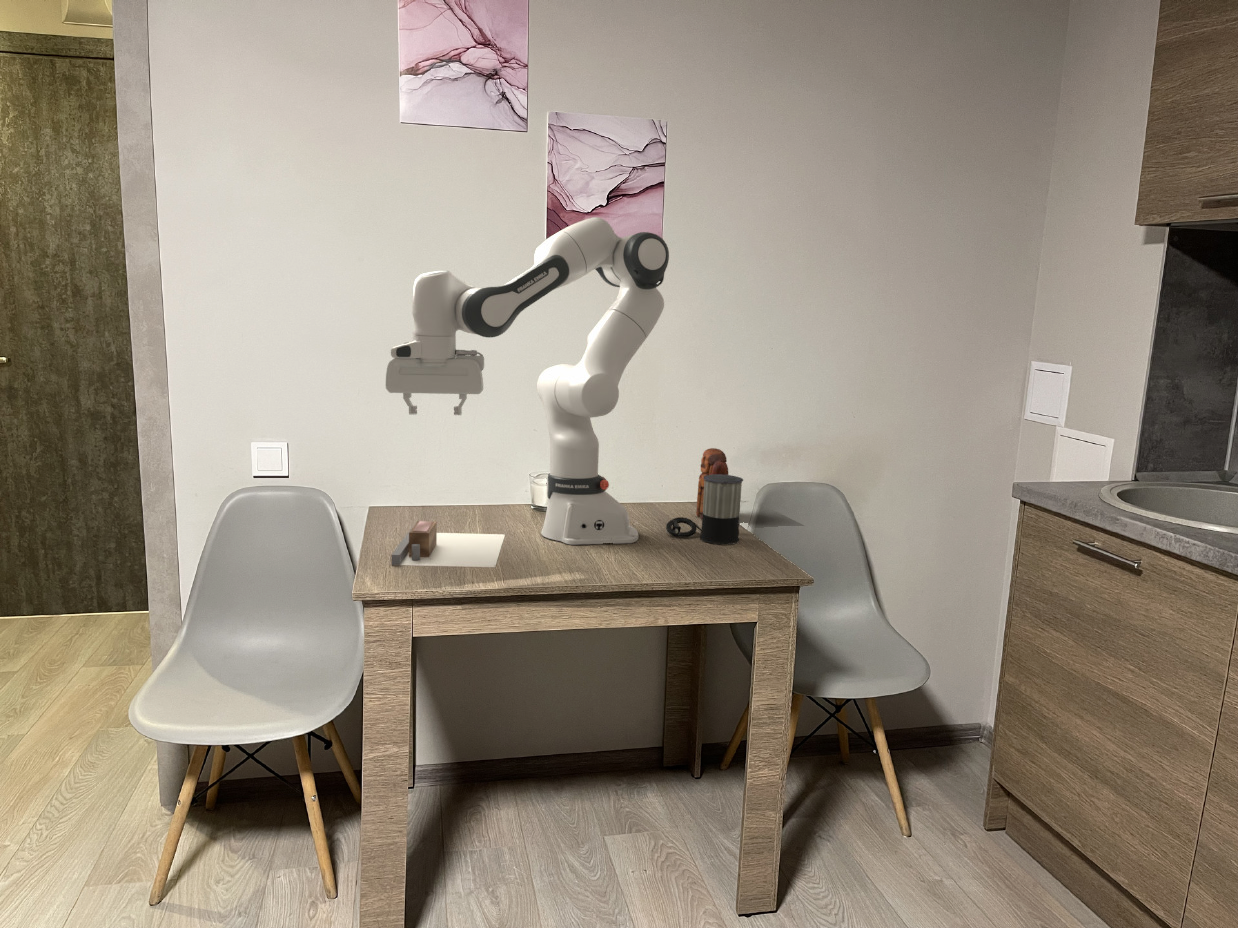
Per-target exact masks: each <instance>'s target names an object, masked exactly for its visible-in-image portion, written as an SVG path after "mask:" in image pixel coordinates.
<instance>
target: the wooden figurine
mask: <svg viewBox="0 0 1238 928" xmlns="http://www.w3.org/2000/svg"><path fill="white" fill-rule="evenodd" d="M700 462H701V464H700V472H701V473H700V475H699V476H698V477H699V478H698V481H697V482H698V483H697V495H696V496H697V497H696V509H695V510H696V513H695V514H696V517H697V516H699V517H698V518H700V520H702V518H703V499H704V481H705V480H704V478H703V477H704V476H706V475H713V474H714V475H716V474H721V475H729V466H728V463H727V456H726V454H725V452H724V451H723V450H721V449H720V448H716V447H711V448H707V449H705V450H704V451H703V453H702V457H701V460H700Z"/></svg>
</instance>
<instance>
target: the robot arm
mask: <svg viewBox="0 0 1238 928" xmlns="http://www.w3.org/2000/svg"><path fill="white" fill-rule="evenodd" d="M533 257H534V258H533V263H534V264H533V265H532V266H531V267H530V268H528V269H527V270H526V271H524V272H523V273H521V274H519V275H518V276H516V277H514V278H513V279H511V280H510V281H508V282H506V283H505V284H502V285H499V286H487V287H480V288H479V287H476V286H474V285H471V284H469V283H467V282H465V281H463V280H461V279H460V278H458V277H457V276H455V275H454V274H453V273H452V272H451V271H450V270H437V271H436V270H435V271H430V272H429V271H428V272H425V273H424V272H423V273H421V274H419V275H418V276H417V277H416V278H415V280H414V283H413V289H412V300H411V301H412V305H411V306H412V311H411V312H412V313H411V314H412V316H413V320H414V321H413V323H414V326H413V330H412V331H413V332H412V341H410V342H409V341H407V342H404V343H403V344H400V345H396V346H393V347H392V348H391V349H390V356H391V358H392V359H391V360H389V361H388V364H387V367H386V374H385V389H386V390H387V392H388V393H390V394H402V398H403V400H404V402H405V403H406V406H407V407H408V415H411V416H412V415H413V416H416V415H417V414H418V410H417V409H418V405H414V404H413V402H412V401H411V398H412V394H430V395H432V394H434V395H435V394H438V395H440V394H441V395H444V394H445V395H458V400H460V402H459V404H458V406H457V405H455V406H453V416H462V413H463V410H462V409H463V406H464V404H465V402H466V400H467V397H468V396H467V395H479V394H481V393H482V392H483V390H484V378H483V372H482V371H483V370H484V368H485V357H484V354H482V353H481V352H479V351H478V350H476V349H471V350H465V349H457V344H456V343H457V342H456V341H457V337H456V336H457V335H456V332H457V331H462V332H464V333H468V334H472V335H478V336H480V337H483V338H490V339H491V338H496V337H499V336H501V335H503V334H505V333H506V331H507V330H509V329H510V327H511V326H512V325H513V323H514V322H515V320H516V319H517V317H518V316H519V315H520V313H522V312H523V311H525V309H527V308H528V307H530V306H532V304H534V303H536V302H537V301H539V300H540V299H542V298H543V297H545V296H546V295H548V294H549V293H551V292H552V291H554V290H556V289H559V288H561V287H565V286H567V285H569V284H571V283H573V282H576V281H577V280H579V279H581V278H583V277H584V276H586V275H588V274H589V273H590V272H593V271H594V270H595V272H598V275H599V276H600V278H601V279H602V280H603V281H604V282H605V283H606V284H608V285H610V286H612V287H615V288H619V290H618V294H617V297H616V298H615V300H614V302H613V303H611V305H610V307H609V308H608V309H607V310H606V312H605V313H604V314H603V315H602V316H601V318H600V319H599V320H598V322H597V323H596V324H595V326H594V327H593V328H592V329H591V331H590V332H589V333H588V335H587V337H586V338H587V339H586V341H587V345H586V348H585V352H584V353H583V355H582V358H581V359H580V360H579V362H578V363H577V364H567V363H560V364H556V365H552V366H550V367H547V368H546V369H544V370H543V371H542V372H541V373H540V374H539V377H538V378H537V383H536V391H537V395H538V396H539V399H540V400H541V402H542V405H543V409H544V412H545V419H546V423H547V427H548V433H549V445H550V447H549V473H548V475H547V479H546V480H547V481H546V495H547V507H546V511H545V517H544V518H545V519H544V522H543V525H542V529H541V532H540V534H541V535H542V537H545V538H546V539H549V540H553V541H554V540H555V541H557V542H562V543H564V544H567V545H604V544H603V543H613V544H633V543H635V542H638V540H639V539H640V538H639V537H640V536H639V531H638V529H637V528H635V527H633V526H631V525H630V517H629V514H628V511H627V509H626V507H625V506H624V505H623V504H621V503H620V502H619V501H618V500H617V499H615V498H614V497H613V496H612V495H611V494H609V493H608V492H607V490H608V488H609V486H610V483H609V481H608V480H607V478H606V477H604V476H603V475H600V474H599V452H600V451H599V450H600V441H599V439H598V437H597V435H596V433H595V431H594V428H593V425H592V420H591V418H599V417H604V416H606V415H609V413H611V412H613V410H614V409H615V407H616V405H617V403H618V400H619V397H620V396H619V395H620V392H619V391H620V390H619V384H620V382H621V378H622V376H623V374H624V371H625V369H626V367H627V366H628V364H629V362H630V361H631V360H632V359H633V357H634V356H635V354H636V353H637V352H638V351H639V349H640V348H641V346H642V345H643V344H644V342H645V341H646V339H648V337H649V336H650V334H651V333H652V331H653V329H654V328H655V327H656V325H657V323H658V321H659V319H660V317H661V315H662V314H663V311H664V308H665V301H664V297H663V295H662V293H661V292H660V291H659V290H658V289H657V288H658V287H659V286H661V285H662V284H663V282H664V279H665V272H666V270H667V268H668V265H669V259H670V251H669V248H668V245H667V243H666V241H665V239H663V238H662V237H661V236H660V235H658V234H656V233H653V232H649V231H641V232H637V233H634V234H630V235H627V236H623V237H621V236H618V235H617V234H616V233H615V230H614V229H613V227H612V226H611V224H610V223H609V222H608V221H607V220H605V219H603V218H602V217H598V216H597V217H596V216H595V217H593V216H592V217H590V218H586V219H584V220H580V221H578V222H575V223H573V224H571V225H569V226H567V227H564V228H563V229H561V230H559V231H558V232H555V234H553V235H551V236H549V237H548V238H546V239H545V240H544V241H543V242H542V243H541V244H540V245H538V246H537V247H536V249H535V252H534V255H533Z"/></svg>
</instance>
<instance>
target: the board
mask: <svg viewBox="0 0 1238 928" xmlns="http://www.w3.org/2000/svg"><path fill="white" fill-rule="evenodd" d="M415 524H416V522H415V523H414V524H413V525H412V526H411V528H410V529H409V531H408V532H407V533H406V535H405V536H404V537H403V538H402V540H401V542H400V543H399V544H398V545H397V547H396V548H395V549H394V551H393V552H392V553H391V558H390V559H391V566H411V567H413V566H415V567H417V566H418V567H421V566H422V567H424V566H425V567H455V568H456V567H459V568H463V567H465V568H496V565H497V562H498V559H499V555H500V553H501V549H502V546H503V542H504V540H505V539H504V538H505V536H506V534H502V533H501V534H495V533H491V534H490V533H465V532H464V533H462V532H461V533H456V532H455V533H454V532H437V541H436V546H435V548H434V550H433V551H432V553H431V555H430V556H429V557H420V544H412V557H409V532H410V530H411V529H412V528H413V526H414V525H415Z"/></svg>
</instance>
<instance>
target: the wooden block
mask: <svg viewBox="0 0 1238 928" xmlns="http://www.w3.org/2000/svg"><path fill="white" fill-rule="evenodd" d="M415 523H416V524H415ZM415 523H414V524H415V525H414V524H413V525H414V526H413V525H412V527H413V528H412V527H411V528H412V529H411V528H410V529H411V530H410V529H409V531H410V532H409V531H408V532H409V557H412V544H420V557H429V556H430V555H431V553H432V551H433V550H434V548H435V546H436V541H437V533H438V532H437V531H438V530H437V529H438V527H437V524H438V523H437V520H436V521H433V520H432V521H431V520H429V521H428V520H425V521H424V520H417V521H416V522H415Z"/></svg>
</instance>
